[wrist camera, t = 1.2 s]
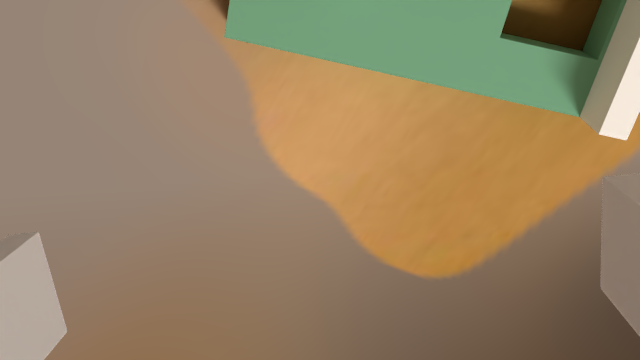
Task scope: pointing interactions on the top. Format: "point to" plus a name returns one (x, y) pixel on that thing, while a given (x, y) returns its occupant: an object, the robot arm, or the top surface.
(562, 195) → the top surface
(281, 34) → the putting board
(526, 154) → the top surface
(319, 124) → the top surface
